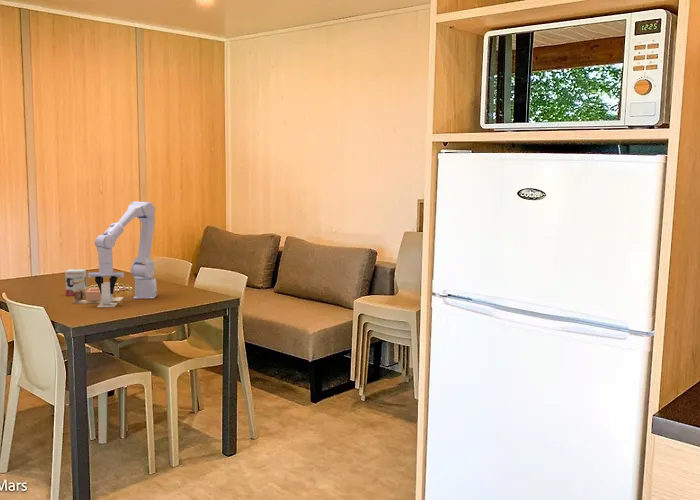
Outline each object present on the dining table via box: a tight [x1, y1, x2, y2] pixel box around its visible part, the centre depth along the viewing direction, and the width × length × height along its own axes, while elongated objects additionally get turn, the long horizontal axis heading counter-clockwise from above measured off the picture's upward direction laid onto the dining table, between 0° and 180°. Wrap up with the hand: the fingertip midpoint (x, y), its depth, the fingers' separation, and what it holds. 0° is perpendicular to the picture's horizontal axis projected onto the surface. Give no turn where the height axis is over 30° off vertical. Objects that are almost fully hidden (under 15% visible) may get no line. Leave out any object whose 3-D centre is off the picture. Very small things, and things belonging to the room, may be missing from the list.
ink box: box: [64, 268, 88, 297], centre depth 307 cm, size 9×5×12 cm, turn 101°
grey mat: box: [96, 303, 119, 308], centre depth 286 cm, size 7×7×1 cm
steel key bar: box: [101, 281, 113, 304], centre depth 285 cm, size 4×4×9 cm
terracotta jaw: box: [86, 287, 102, 301], centre depth 293 cm, size 6×8×4 cm
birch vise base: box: [71, 287, 125, 305], centre depth 294 cm, size 20×8×6 cm, turn 96°
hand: (106, 293), depth 285 cm, fingers closed on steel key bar, 3 cm apart
